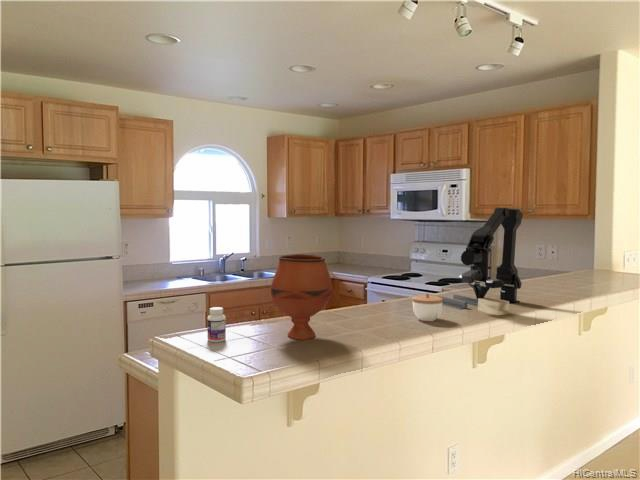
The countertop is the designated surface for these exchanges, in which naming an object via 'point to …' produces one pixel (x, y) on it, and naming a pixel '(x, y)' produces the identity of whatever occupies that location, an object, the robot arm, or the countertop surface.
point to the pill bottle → (216, 325)
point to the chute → (458, 301)
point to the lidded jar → (427, 307)
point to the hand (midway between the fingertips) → (479, 302)
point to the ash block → (493, 306)
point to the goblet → (301, 290)
